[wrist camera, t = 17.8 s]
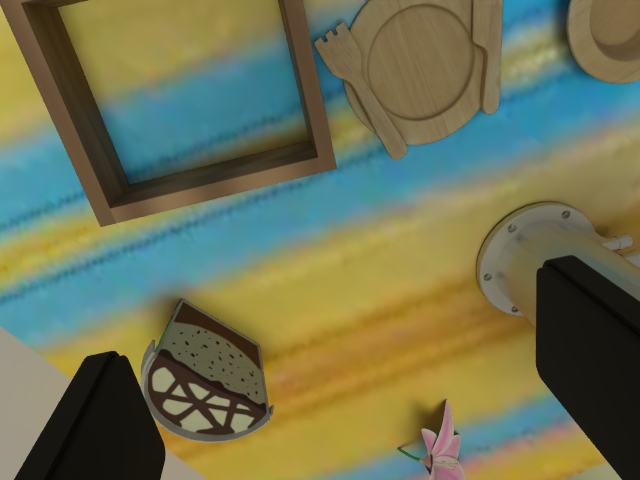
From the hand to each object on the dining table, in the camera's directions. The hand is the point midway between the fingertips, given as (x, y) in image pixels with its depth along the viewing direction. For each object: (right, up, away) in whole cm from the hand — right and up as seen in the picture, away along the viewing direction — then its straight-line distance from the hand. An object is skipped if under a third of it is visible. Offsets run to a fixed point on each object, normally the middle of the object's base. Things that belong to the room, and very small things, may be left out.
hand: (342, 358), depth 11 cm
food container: (-12, -8, +38) cm, 40 cm away
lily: (+13, -21, +47) cm, 53 cm away
